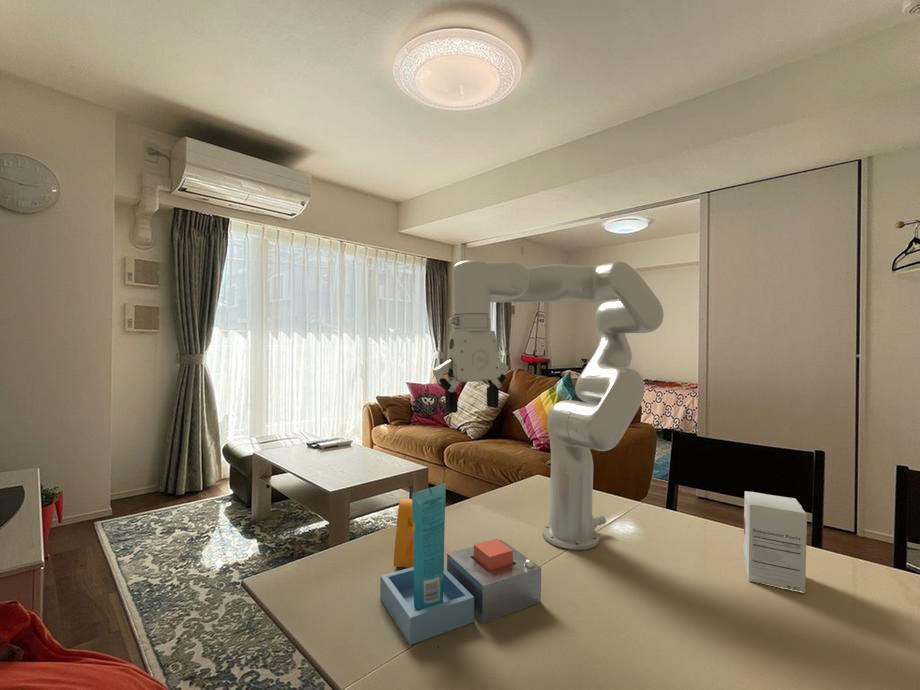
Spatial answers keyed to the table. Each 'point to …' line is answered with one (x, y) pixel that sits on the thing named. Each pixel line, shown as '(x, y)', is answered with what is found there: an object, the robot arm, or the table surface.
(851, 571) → the table surface
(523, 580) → the box
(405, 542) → the bracket
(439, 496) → the tube
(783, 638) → the table surface
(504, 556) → the button
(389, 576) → the blue open tray
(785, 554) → the supplement box
